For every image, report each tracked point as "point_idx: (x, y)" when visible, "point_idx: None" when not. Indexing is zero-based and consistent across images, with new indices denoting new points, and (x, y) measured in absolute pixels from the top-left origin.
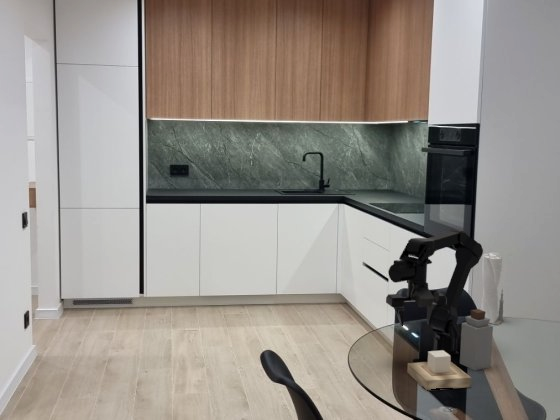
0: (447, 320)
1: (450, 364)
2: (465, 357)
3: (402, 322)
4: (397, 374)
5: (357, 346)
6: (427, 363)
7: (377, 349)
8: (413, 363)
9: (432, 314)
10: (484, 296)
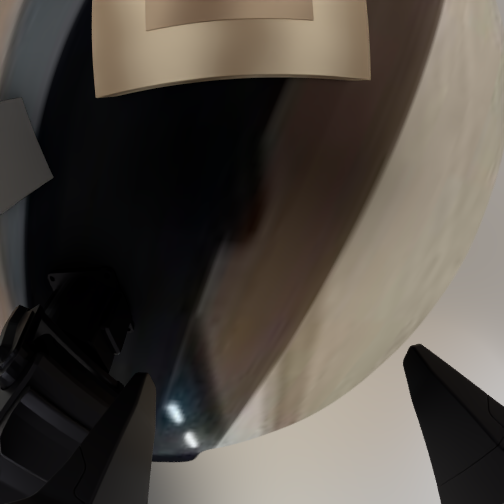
0: (15, 390)
1: (114, 34)
2: (17, 158)
3: (439, 366)
4: (398, 75)
5: (388, 354)
6: (252, 50)
7: (346, 337)
8: (340, 67)
9: (90, 462)
10: None
